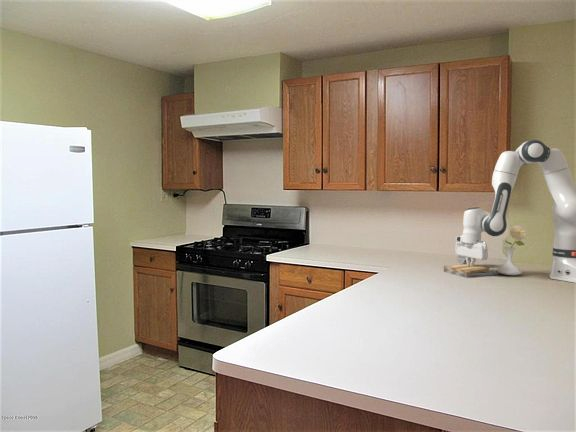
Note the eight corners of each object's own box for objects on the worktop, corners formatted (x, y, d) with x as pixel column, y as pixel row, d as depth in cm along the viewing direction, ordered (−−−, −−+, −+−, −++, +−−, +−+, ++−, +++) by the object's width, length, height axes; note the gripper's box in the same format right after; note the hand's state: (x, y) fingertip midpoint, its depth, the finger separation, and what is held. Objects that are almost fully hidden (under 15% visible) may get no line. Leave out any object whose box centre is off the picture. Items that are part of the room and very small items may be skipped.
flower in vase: (495, 275, 235) (497, 225, 233) (497, 271, 245) (499, 223, 243) (525, 278, 228) (527, 226, 227) (525, 274, 239) (527, 225, 237)
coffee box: (462, 265, 266) (463, 236, 265) (474, 266, 262) (475, 237, 261) (457, 267, 259) (458, 238, 258) (469, 268, 255) (470, 238, 254)
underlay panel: (497, 275, 235) (497, 269, 235) (466, 277, 229) (466, 271, 228) (473, 269, 251) (473, 264, 251) (443, 271, 245) (443, 265, 244)
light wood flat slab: (489, 270, 234) (489, 267, 234) (469, 273, 230) (469, 270, 230) (468, 265, 248) (468, 263, 248) (449, 268, 244) (449, 265, 244)
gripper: (491, 241, 231) (490, 269, 231) (463, 236, 250) (462, 262, 251) (481, 241, 229) (480, 270, 229) (453, 237, 248) (452, 263, 249)
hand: (470, 266), depth 240 cm, fingers closed, pressing on light wood flat slab
